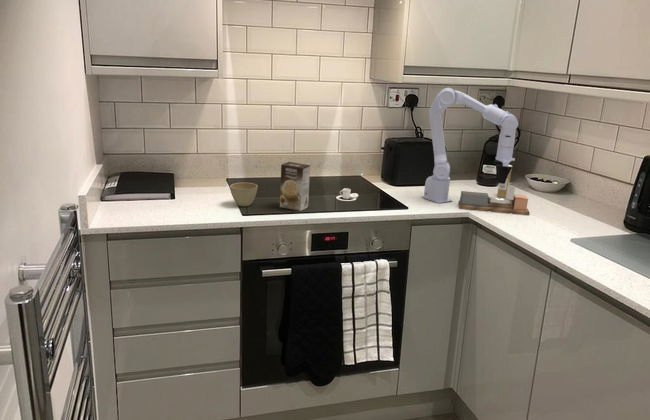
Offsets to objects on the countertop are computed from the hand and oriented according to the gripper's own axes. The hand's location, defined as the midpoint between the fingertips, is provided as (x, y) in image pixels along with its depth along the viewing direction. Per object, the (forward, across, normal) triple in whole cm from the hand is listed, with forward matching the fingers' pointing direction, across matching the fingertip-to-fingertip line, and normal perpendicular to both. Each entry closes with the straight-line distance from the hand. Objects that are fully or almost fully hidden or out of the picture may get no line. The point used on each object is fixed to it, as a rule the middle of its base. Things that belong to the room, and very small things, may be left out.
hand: (500, 181), depth 207 cm
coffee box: (+11, -28, +75) cm, 81 cm away
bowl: (+11, -31, +94) cm, 99 cm away
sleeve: (+9, -5, +10) cm, 14 cm away
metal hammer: (+8, -5, -1) cm, 9 cm away
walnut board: (+10, -5, +2) cm, 11 cm away
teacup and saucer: (+11, -10, +56) cm, 58 cm away
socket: (+9, -5, -8) cm, 13 cm away
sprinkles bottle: (+10, +17, -4) cm, 21 cm away
